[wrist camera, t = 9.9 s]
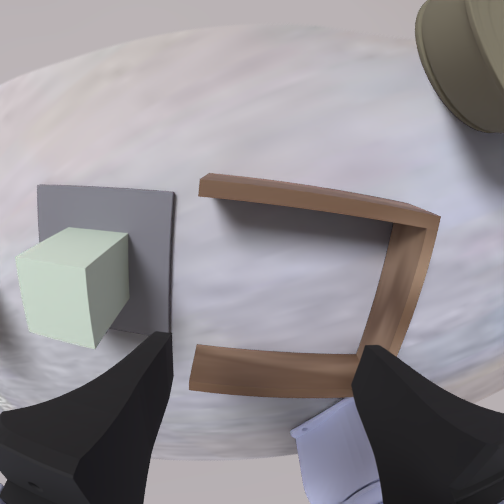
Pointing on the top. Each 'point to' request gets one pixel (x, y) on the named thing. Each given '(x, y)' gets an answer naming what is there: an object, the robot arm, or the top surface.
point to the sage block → (74, 284)
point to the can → (465, 58)
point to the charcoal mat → (139, 241)
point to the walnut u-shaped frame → (381, 315)
